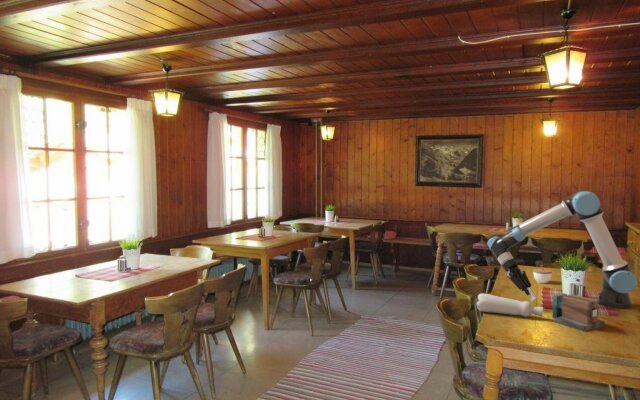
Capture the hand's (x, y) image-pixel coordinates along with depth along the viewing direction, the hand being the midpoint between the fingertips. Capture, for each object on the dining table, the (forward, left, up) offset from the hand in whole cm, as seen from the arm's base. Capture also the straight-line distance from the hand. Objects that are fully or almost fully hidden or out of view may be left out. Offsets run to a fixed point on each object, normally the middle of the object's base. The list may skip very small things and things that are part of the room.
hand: (534, 299), depth 238 cm
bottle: (+17, -1, -6) cm, 18 cm away
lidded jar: (-58, -37, -6) cm, 69 cm away
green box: (0, +22, -5) cm, 23 cm away
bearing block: (0, +24, -5) cm, 25 cm away
